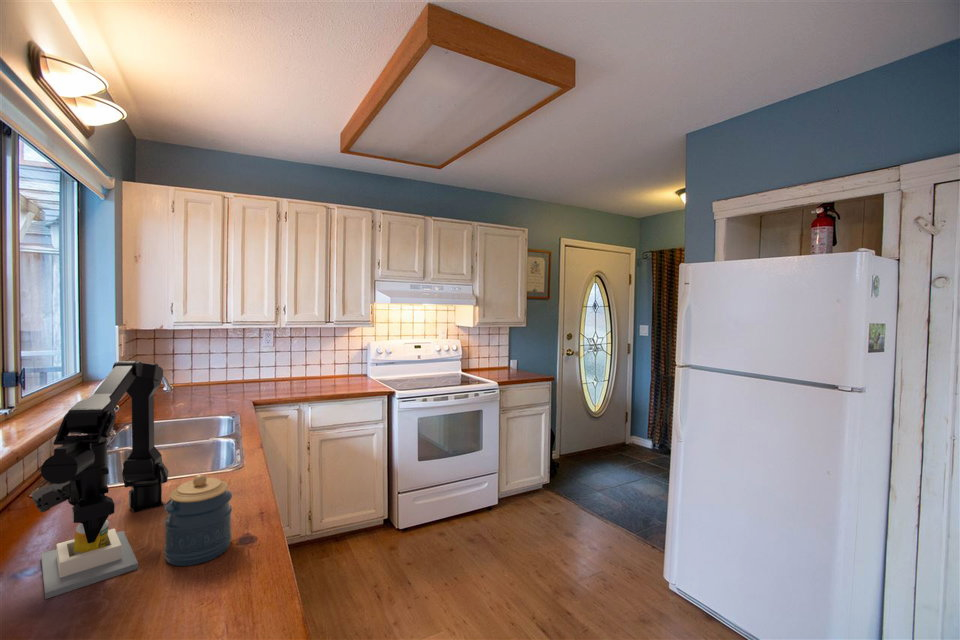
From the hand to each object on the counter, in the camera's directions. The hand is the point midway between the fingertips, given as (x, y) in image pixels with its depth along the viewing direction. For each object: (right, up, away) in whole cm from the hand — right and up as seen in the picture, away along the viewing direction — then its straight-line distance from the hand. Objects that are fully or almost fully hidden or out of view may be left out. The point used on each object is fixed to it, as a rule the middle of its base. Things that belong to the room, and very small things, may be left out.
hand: (89, 536), depth 94 cm
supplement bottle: (0, -5, 0) cm, 5 cm away
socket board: (0, -6, 0) cm, 6 cm away
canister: (+19, -7, +7) cm, 22 cm away
